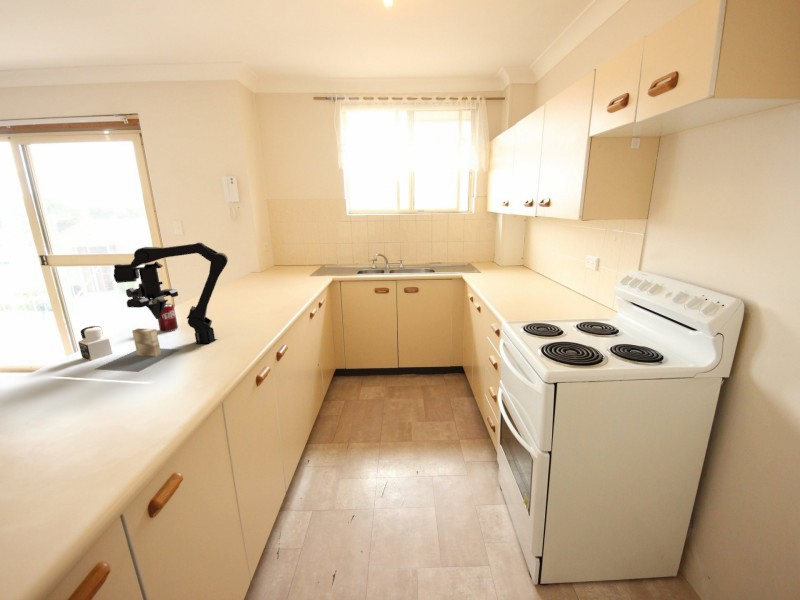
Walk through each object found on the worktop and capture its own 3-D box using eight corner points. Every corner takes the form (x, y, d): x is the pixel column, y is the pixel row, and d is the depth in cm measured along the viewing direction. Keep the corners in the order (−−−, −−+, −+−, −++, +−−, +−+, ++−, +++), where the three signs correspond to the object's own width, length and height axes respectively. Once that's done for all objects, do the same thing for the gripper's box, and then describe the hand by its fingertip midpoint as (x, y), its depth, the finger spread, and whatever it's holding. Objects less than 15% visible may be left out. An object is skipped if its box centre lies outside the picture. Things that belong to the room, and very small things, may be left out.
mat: (182, 350, 141) (181, 349, 141) (138, 373, 122) (138, 371, 121) (142, 349, 144) (142, 347, 143) (94, 370, 124) (93, 369, 124)
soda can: (181, 327, 170) (177, 303, 167) (170, 332, 163) (165, 307, 160) (167, 327, 171) (163, 303, 168) (156, 332, 164) (151, 307, 161)
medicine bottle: (82, 358, 135) (74, 329, 132) (104, 352, 141) (97, 323, 138) (91, 362, 132) (83, 331, 129) (113, 355, 138) (106, 326, 135)
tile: (161, 353, 137) (156, 329, 134) (155, 356, 134) (150, 331, 132) (143, 352, 138) (137, 328, 136) (137, 355, 136) (132, 330, 133)
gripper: (151, 275, 146) (159, 311, 150) (109, 285, 128) (119, 325, 132) (175, 275, 144) (182, 312, 148) (136, 285, 127) (145, 326, 131)
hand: (158, 318), depth 140 cm, fingers closed
